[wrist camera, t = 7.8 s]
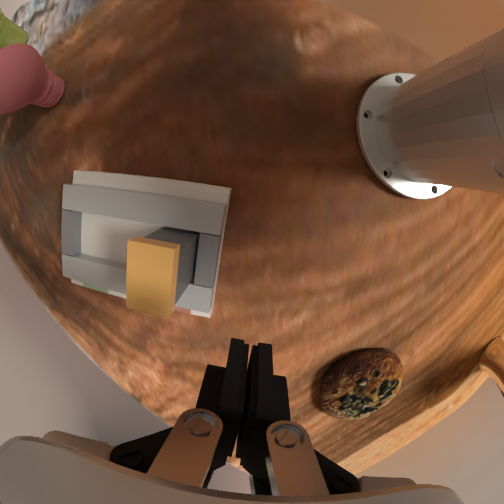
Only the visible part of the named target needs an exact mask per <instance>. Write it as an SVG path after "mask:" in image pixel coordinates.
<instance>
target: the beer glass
mask: <svg viewBox="0 0 504 504" xmlns="http://www.w3.org/2000/svg"><path fill="white" fill-rule="evenodd" d="M479 367H480V369H481V370H482V371H484V372H485V373H487V374H488V375H489V376H491V377H492V378H493V380H494V381H495V382H496V384H497V386H498V388H499V389H500V391H501V393H502V395H503V397H504V337H502V336H499V337H497V338H495V339H493V340H492V341H491V342H490V343H489V344H488V345H487V347H486V348H485V350H484V351H483V353H482V355H481V357H480V360H479Z"/></svg>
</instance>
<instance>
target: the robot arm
mask: <svg viewBox="0 0 504 504" xmlns="http://www.w3.org/2000/svg"><path fill="white" fill-rule="evenodd" d="M364 114H366V116H367V119H366V118H365V117H364ZM356 131H357V136H358V142H359V145H360V148H361V151H362V154H363V156H364V158H365V160H366V162H367V164H368V166H369V167H370V169H371V170H372V171H373V173H374V174H375V176H376V177H377V178H378V179H379V180H380V181H381V182H382V183H383V184H384V185H385V186H387V187H388V188H389V189H391V190H392V191H394V192H395V193H398V194H400V195H402V196H405V197H409V198H413V199H422V200H425V199H432V198H435V197H438V196H440V195H442V194H444V193H445V192H446V191H448V190H449V189H450V188H451V187H460V188H468V189H475V190H482V191H488V192H495V193H501V194H504V28H503V29H501V30H499V31H497V32H495V33H493V34H491V35H489V36H487V37H485V38H483V39H481V40H479V41H477V42H475V43H473V44H471V45H469V46H468V47H466V48H464V49H462V50H460V51H458V52H456V53H455V54H453V55H451V56H449V57H447V58H446V59H444V60H442V61H440V62H438V63H437V64H435V65H433V66H431V67H430V68H428V69H426V70H425V71H423V72H421V73H419V74H418V75H414V74H410V73H404V72H400V73H391V74H388V75H385V76H383V77H381V78H379V79H378V80H376V81H375V82H374V83H373V84H371V85H370V86H369V87H368V88H367V90H366V91H365V93H364V94H363V96H362V98H361V100H360V103H359V105H358V110H357V116H356ZM384 171H385V172H386V175H385V176H384ZM248 351H249V344H244V340H241V339H235V338H231V344H230V349H229V354H228V360H227V365H226V368H225V367H219V366H214V365H209V364H208V365H207V368H206V372H205V375H204V379H203V383H202V386H201V390H200V393H199V397H198V401H197V404H196V408H194V409H189V410H187V411H185V412H183V413H182V414H181V415H180V417H179V418H178V420H177V422H176V424H175V425H174V427H171V428H168V429H166V430H163V431H160V432H157V433H154V434H151V435H148V436H145V437H142V438H139V439H136V440H132V441H129V442H126V443H122V444H120V445H118V446H111V445H108V442H103V441H97V440H93V439H89V438H84V437H80V436H76V435H72V434H69V433H65V432H61V431H51V432H48V433H47V434H45V435H44V437H43V438H39V437H33V436H17V437H14V438H11V439H9V440H8V441H6V442H5V443H4V444H2V445H1V446H0V504H464V503H463V501H462V500H461V498H460V497H459V495H458V494H457V493H456V492H455V491H454V490H452V489H450V488H448V487H444V486H440V485H430V484H416V483H415V482H414V481H413V480H411V479H408V478H389V477H388V478H387V477H369V476H362V477H361V478H356V477H355V476H354V475H353V474H352V473H350V472H348V471H347V470H345V469H343V468H342V467H340V466H339V465H337V464H336V463H334V462H332V461H331V460H329V459H328V458H326V457H325V456H323V455H322V454H320V453H319V452H317V451H316V450H315V449H313V446H312V443H311V440H310V438H309V435H308V433H307V431H306V429H304V428H303V427H302V426H301V425H299V424H298V423H295V422H292V421H291V419H290V409H289V399H288V390H287V380H286V377H285V376H277V375H273V359H272V345H271V344H265V343H258V346H256V345H253V346H252V351H251V355H250V360H249V364H248V368H247V363H248ZM237 434H238V437H237ZM236 438H237V447H236V458H241V461H240V465H242V466H243V468H244V469H246V470H247V471H248V472H249V473H250V474H249V480H250V486H251V493H252V494H242V493H234V492H226V491H219V490H213V489H208V487H209V485H210V482H211V479H212V477H213V474H214V470H216V469H218V468H220V467H222V466H224V465H225V463H226V460H227V456H229V457H231V456H232V453H233V449H234V445H235V441H236Z"/></svg>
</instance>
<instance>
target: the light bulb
mask: <svg viewBox="0 0 504 504" xmlns="http://www.w3.org/2000/svg"><path fill="white" fill-rule="evenodd" d="M64 88H65V84H64V81H63V79H62V78H59V77H58V76H56V75H54V74H53V73H52V72H51V71H50V70H49V69H46V68H45V65H44V63H43V60H42V59H41V57H40V55H39V53H38V52H37V51H36V50H35V49H34V48H33V47H32V46H30V45H27V44H23V43H15V44H11V45H8V46H6V47H4V48H2V49H0V114H7V113H11V112H13V111H16V110H18V109H20V108H22V107H24V106H26V105H28V104H30V103H31V104H36V105H37V106H41V107H52V106H54V105H55V104H56V103H57V102H58V101H59V100H60V98H61V97H62V95H63V92H64Z"/></svg>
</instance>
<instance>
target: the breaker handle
mask: <svg viewBox="0 0 504 504" xmlns="http://www.w3.org/2000/svg"><path fill="white" fill-rule="evenodd" d="M199 236H200V232H195V231H189V230H184V229H178V228H172V227H166V226H164V227H162V228H160V229H158V230H156V231H155V232H153V233H151V234H149V235H147V236H145V237H138V236H135V237H133V238H131V239H129V240H128V245H127V273H126V308H129V309H133V310H137V311H140V312H144V313H148V314H152V315H156V316H160V317H164V318H170V317H171V315H172V314H173V312H174V309H175V305H176V303H177V302H178V300H179V299H180V297H181V296H182V294H183V293H184V291H185V290H186V288H187V287H188V285H189V284H190V282H191V281H192V279H193V278H194V276H195V267H196V259H197V251H198V243H199Z"/></svg>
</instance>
